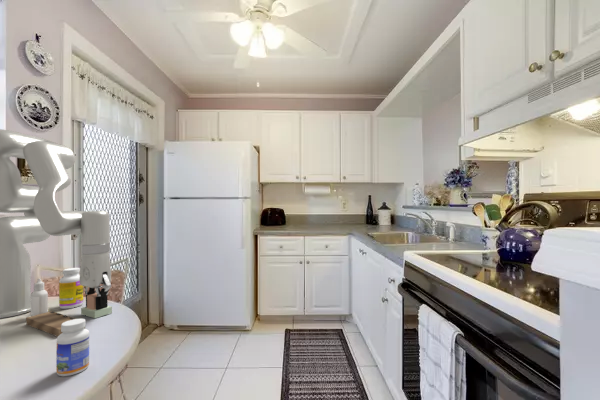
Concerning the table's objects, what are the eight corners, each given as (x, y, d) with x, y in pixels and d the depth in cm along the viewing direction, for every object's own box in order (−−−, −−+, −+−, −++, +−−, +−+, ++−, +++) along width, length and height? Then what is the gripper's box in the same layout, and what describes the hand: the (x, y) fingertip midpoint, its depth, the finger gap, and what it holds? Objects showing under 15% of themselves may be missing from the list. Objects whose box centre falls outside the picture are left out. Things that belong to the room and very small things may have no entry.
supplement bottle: (77, 308, 101) (77, 270, 101) (54, 310, 99) (54, 271, 100) (87, 302, 107) (86, 266, 108) (66, 304, 106) (65, 267, 106)
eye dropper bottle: (28, 321, 90) (28, 281, 90) (31, 316, 94) (31, 278, 94) (47, 318, 92) (47, 279, 92) (49, 313, 97) (49, 276, 97)
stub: (81, 314, 94) (81, 295, 94) (98, 309, 99) (98, 291, 99) (94, 318, 90) (94, 298, 91) (112, 312, 95) (111, 293, 95)
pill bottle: (51, 373, 60) (50, 324, 60) (81, 360, 65) (80, 315, 65) (65, 379, 57) (64, 329, 58) (95, 366, 62) (94, 319, 63)
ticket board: (26, 324, 87) (26, 317, 87) (51, 317, 92) (51, 310, 92) (59, 337, 78) (59, 328, 78) (85, 328, 83) (85, 320, 83)
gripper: (69, 250, 96) (69, 307, 96) (97, 252, 88) (98, 315, 87) (94, 247, 102) (95, 300, 102) (123, 249, 94) (124, 307, 94)
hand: (96, 306), depth 95 cm, fingers closed on stub, 5 cm apart
